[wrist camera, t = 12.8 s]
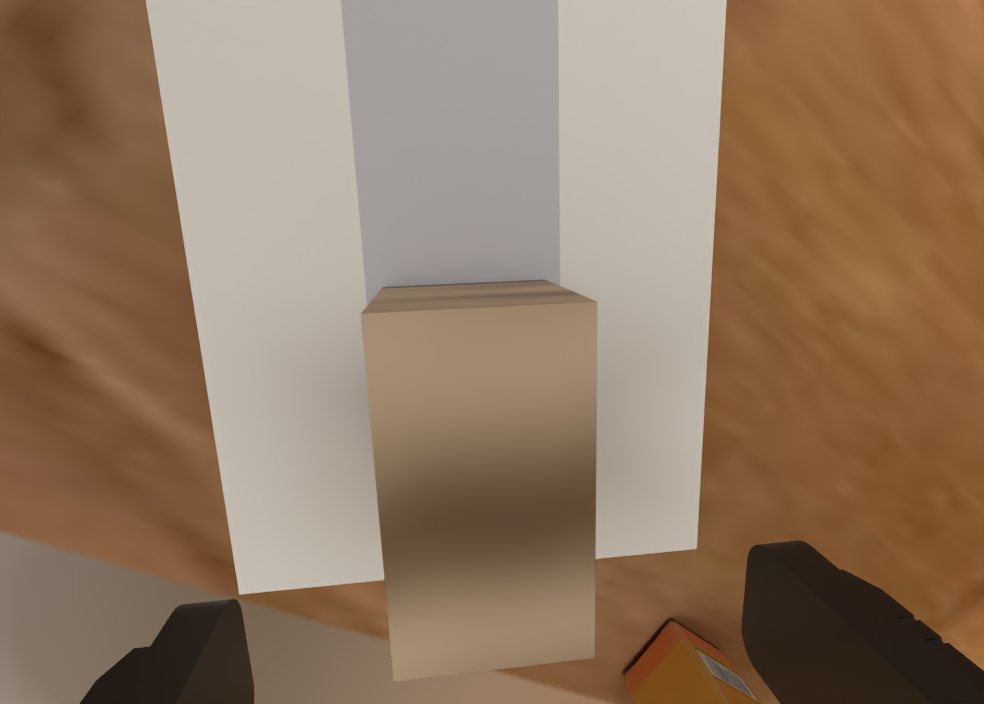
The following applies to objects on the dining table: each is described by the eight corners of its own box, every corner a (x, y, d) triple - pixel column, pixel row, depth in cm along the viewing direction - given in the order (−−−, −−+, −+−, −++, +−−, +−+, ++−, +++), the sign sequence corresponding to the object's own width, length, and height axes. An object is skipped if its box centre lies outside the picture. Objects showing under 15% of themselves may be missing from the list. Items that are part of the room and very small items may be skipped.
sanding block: (382, 287, 16) (360, 314, 11) (544, 279, 17) (597, 301, 12) (404, 551, 18) (393, 681, 13) (548, 537, 19) (595, 657, 14)
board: (111, -350, 14) (81, -405, 12) (721, -309, 15) (745, -353, 14) (250, 572, 19) (239, 594, 18) (681, 531, 21) (696, 548, 20)
